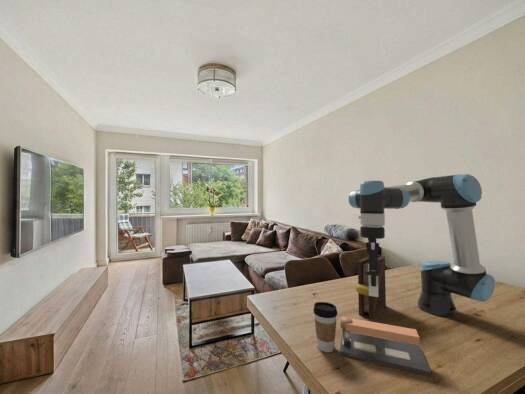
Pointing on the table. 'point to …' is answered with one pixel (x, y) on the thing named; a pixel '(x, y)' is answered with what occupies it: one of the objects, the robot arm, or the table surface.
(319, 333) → the coffee cup
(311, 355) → the table surface
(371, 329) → the cable arm
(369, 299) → the book
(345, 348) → the plate
